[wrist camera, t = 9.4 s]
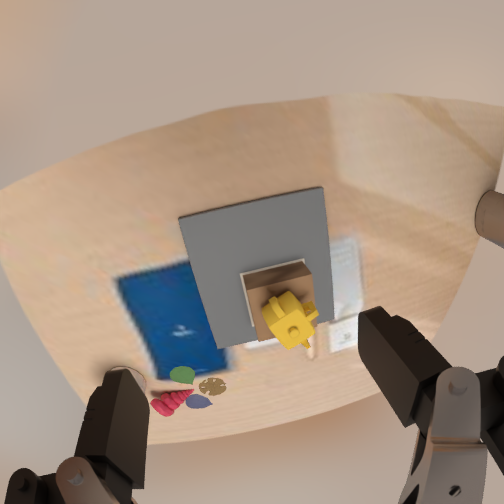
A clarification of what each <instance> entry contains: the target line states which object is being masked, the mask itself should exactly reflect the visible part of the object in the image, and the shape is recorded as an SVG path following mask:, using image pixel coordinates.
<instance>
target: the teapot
mask: <svg viewBox="0 0 504 504" xmlns="http://www.w3.org/2000/svg"><path fill="white" fill-rule="evenodd" d="M269 302H270V303H269V304H267V305H266V306H264V307H263V308H262V315H263V317H264V319H265V321H266V323H267V325H268V327H269V329H270V330H271V332H272V333H273V334H274V335H275V337H276V338H277V339H278V340H279V341H280V342H281V344H282V345H283V346H284V347H285V348H286V349H288V350H289V349H291V348H293V347H295V346H296V345H298V344H300V343H301V344H302V345H304V346H305V347H306V348H307V349H308V348H310V345H309V342H308V340H307V338H309V337H310V336H312V335H313V334H315V330H314V327H313V324H312V322H311V320H313V319H314V318H315V317H317V316H318V315H319V313H318V311H317V309H316V307H315V305H314V304H313V302H312V301H310V302H306V303H303V304H301V303H300V302H299V301H298V299H297V298H296V297H295V296H294V295H293V294H292V293H291V292H290V291H287V292H286V293H284V294H282V295H281V296H279V297H278V298H276V297H275V296H274V297H272V298H271V299H269ZM308 311H311V312H309V313H308V314H307V312H308Z"/></svg>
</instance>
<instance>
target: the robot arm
mask: <svg viewBox="0 0 504 504" xmlns="http://www.w3.org/2000/svg"><path fill="white" fill-rule="evenodd" d="M475 224H476V229H477V232H478V234H479V235H480V236H481V237H483V238H485V239H487V240H489V241H491V242H493V243H495V244H497V245H498V246H500V247H502V248H504V194H501V193H498V192H495V191H488V192H487V193H485V194H484V195H483V197H482V198H481V200H480V202H479V205H478V207H477V211H476V218H475ZM358 351H359V355H360V358H361V360H362V362H363V363H364V365H365V366H366V368H367V369H368V371H369V373H370V374H371V376H372V377H373V379H374V380H375V382H376V383H377V385H378V386H379V388H380V389H381V391H382V392H383V394H384V396H385V397H386V399H387V400H388V402H389V404H390V405H391V407H392V408H393V410H394V411H395V413H396V415H397V416H398V418H399V419H400V421H401V423H402V424H403V426H404V427H405V428H406V427H408V426H410V425H412V424H414V423H416V424H417V426H418V428H419V430H418V433H417V439H416V444H415V448H414V453H413V458H412V462H411V466H410V470H409V474H408V478H407V481H406V484H405V486H404V488H403V491H402V493H401V496H400V499H399V502H398V504H482V499H483V492H484V485H485V476H486V466H487V449H488V450H489V452H490V454H491V455H492V457H493V458H494V460H495V462H496V463H497V465H498V467H499V468H500V470H501V472H502V473H503V475H504V356H503V357H502V358H501V359H500V361H499V364H498V366H497V368H494V369H490V370H487V371H483V372H480V373H474V372H472V371H471V370H469V369H467V368H464V367H452V366H451V365H450V364H449V363H448V362H447V361H446V359H444V357H443V356H442V355H441V354H440V353H439V352H438V351H437V350H436V349H435V348H434V346H432V344H431V343H430V342H429V341H428V340H427V339H425V337H424V336H423V335H422V334H421V333H420V332H418V330H417V329H416V328H415V327H414V326H413V324H412V323H411V322H410V321H408V320H406V319H404V318H402V317H400V316H398V315H395V316H393V317H391V316H390V315H389V314H388V313H387V312H386V311H385V310H384V309H383V308H382V307H381V306H378V307H375V308H372V309H369V310H366V311H363V312H360V313H359V316H358ZM86 410H87V411H86V412H85V416H84V421H83V423H82V427H81V430H80V434H79V438H78V442H77V446H76V450H75V455H74V457H71V458H68V459H66V460H64V461H63V462H62V463H61V464H60V465H59V467H58V469H57V472H56V473H52V474H48V475H43V476H37V475H36V474H35V473H34V472H33V471H31V470H30V469H27V468H21V469H18V470H17V471H15V472H14V473H13V475H12V476H11V478H10V480H9V484H8V488H7V493H6V498H5V503H4V504H137V502H136V501H135V499H134V498H133V497H132V489H144V478H145V461H146V448H147V435H148V424H149V414H150V409H149V403H148V400H147V398H146V396H145V394H144V393H143V391H142V390H141V388H140V386H139V385H138V383H137V382H136V380H135V378H134V377H133V375H132V373H131V372H130V371H129V370H128V369H126V368H125V369H119V370H111V371H107V372H106V373H105V376H104V380H103V383H102V386H99V387H97V388H96V390H95V391H94V392H93V394H92V395H91V396H90V398H89V402H88V405H87V408H86ZM480 438H481V439H482V441H483V443H482V442H481V441H480Z"/></svg>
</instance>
